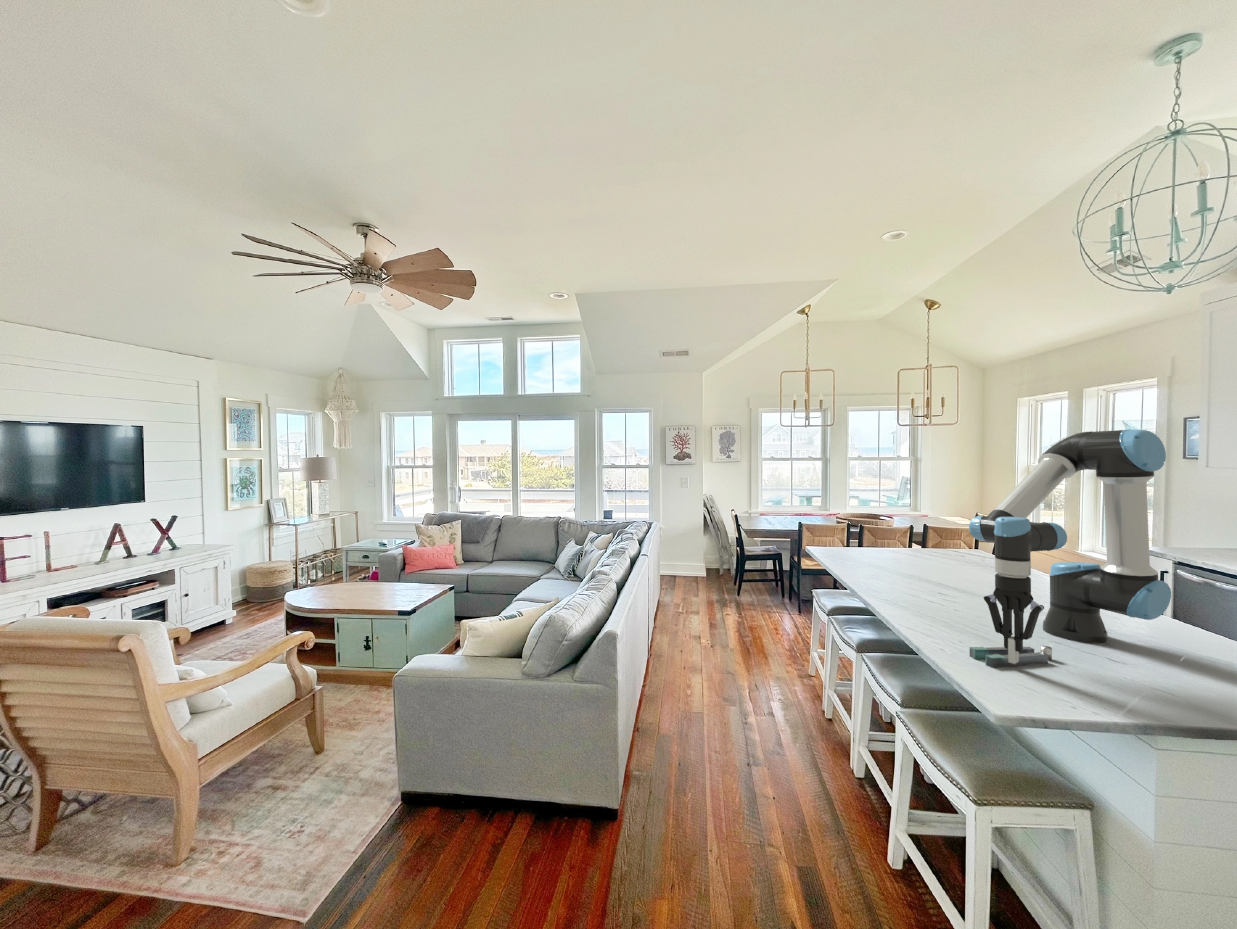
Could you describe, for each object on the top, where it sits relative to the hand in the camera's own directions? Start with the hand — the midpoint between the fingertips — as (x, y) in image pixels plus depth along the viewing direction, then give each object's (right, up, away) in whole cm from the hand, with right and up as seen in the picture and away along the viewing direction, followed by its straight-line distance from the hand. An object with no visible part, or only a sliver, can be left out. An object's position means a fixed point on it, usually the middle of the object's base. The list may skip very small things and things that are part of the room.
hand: (1013, 661), depth 131 cm
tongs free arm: (+3, -2, +3) cm, 4 cm away
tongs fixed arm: (+5, -2, +6) cm, 8 cm away
